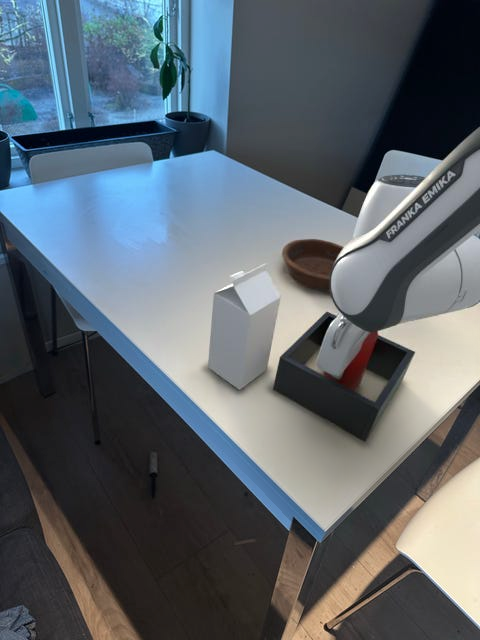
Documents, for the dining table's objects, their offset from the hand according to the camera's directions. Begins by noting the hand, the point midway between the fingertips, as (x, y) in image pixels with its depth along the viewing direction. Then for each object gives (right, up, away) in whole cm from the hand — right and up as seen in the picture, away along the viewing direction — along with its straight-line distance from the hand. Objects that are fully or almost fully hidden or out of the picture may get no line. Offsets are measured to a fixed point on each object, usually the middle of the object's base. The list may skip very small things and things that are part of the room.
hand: (346, 362), depth 71 cm
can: (-1, -4, +3) cm, 5 cm away
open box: (-1, -4, +3) cm, 5 cm away
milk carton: (-17, -2, +4) cm, 18 cm away
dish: (+1, +17, +31) cm, 35 cm away
